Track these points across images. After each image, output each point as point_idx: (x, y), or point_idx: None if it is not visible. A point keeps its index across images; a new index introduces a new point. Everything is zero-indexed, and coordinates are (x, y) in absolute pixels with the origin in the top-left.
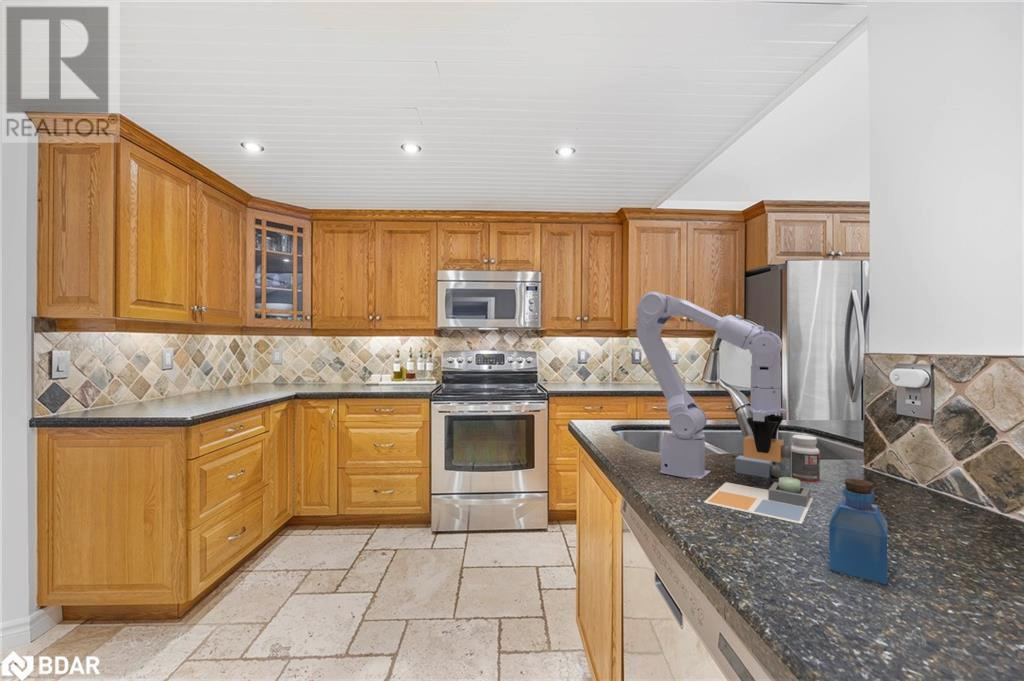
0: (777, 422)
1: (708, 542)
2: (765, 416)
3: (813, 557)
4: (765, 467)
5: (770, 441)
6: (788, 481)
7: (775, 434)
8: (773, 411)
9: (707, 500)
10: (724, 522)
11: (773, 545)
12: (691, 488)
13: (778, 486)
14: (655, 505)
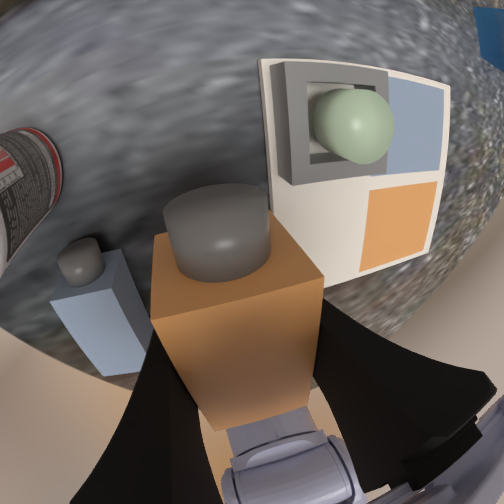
0: (474, 411)
1: (497, 187)
2: (414, 491)
3: (494, 81)
4: (118, 287)
5: (355, 321)
6: (389, 127)
7: (169, 394)
8: (498, 490)
9: (418, 253)
10: (464, 194)
11: (491, 124)
12: (346, 314)
13: (318, 161)
14: (436, 287)
